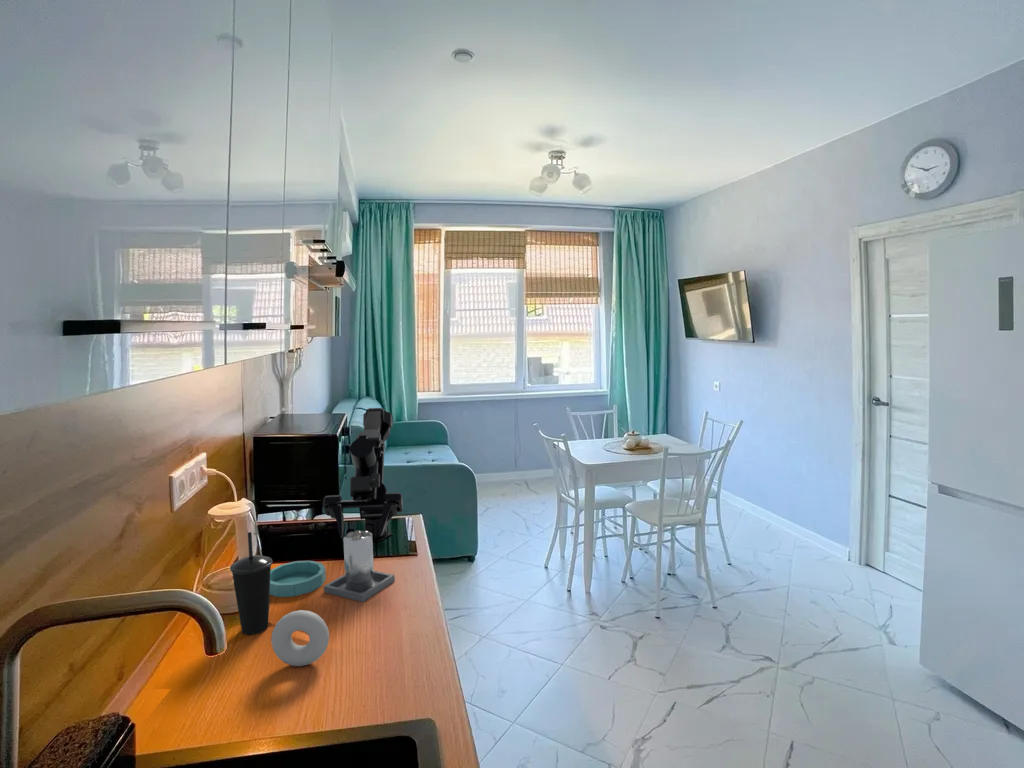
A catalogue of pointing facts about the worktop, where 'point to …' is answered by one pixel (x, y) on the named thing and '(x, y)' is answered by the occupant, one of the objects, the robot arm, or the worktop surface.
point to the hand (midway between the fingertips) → (361, 536)
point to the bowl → (296, 578)
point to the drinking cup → (252, 590)
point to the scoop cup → (358, 561)
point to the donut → (298, 653)
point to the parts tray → (340, 590)
